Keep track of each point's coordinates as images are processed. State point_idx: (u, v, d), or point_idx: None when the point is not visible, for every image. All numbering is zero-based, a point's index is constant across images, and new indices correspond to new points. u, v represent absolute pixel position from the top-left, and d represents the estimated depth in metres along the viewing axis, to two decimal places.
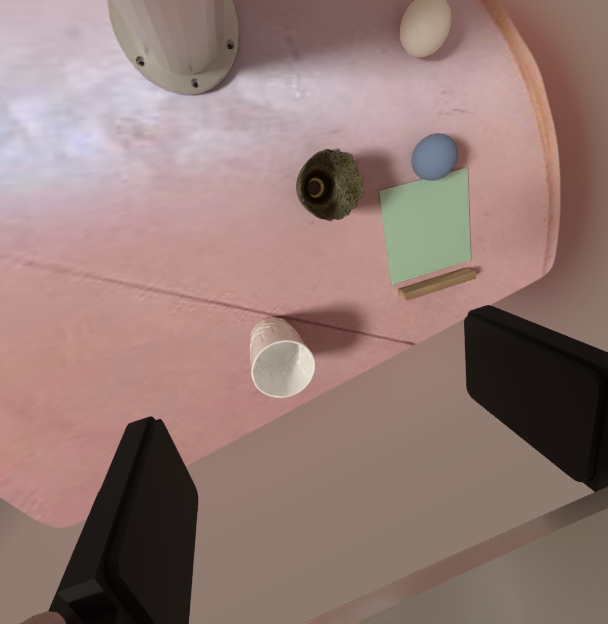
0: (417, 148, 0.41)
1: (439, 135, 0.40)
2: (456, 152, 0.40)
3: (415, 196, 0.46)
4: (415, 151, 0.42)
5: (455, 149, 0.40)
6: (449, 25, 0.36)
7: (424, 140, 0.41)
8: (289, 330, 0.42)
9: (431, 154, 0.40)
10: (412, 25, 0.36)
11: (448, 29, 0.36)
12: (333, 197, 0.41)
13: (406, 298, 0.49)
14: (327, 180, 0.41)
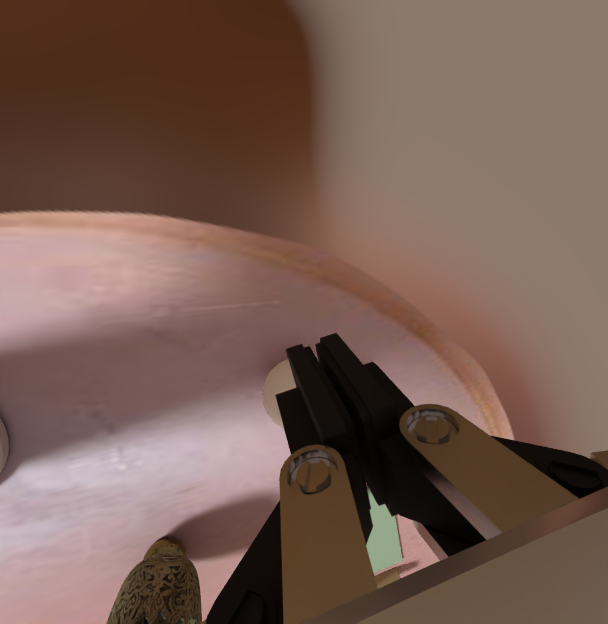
0: None
1: None
2: None
3: None
4: None
5: None
6: None
7: None
8: None
9: None
10: (271, 415, 0.24)
11: None
12: None
13: None
14: None
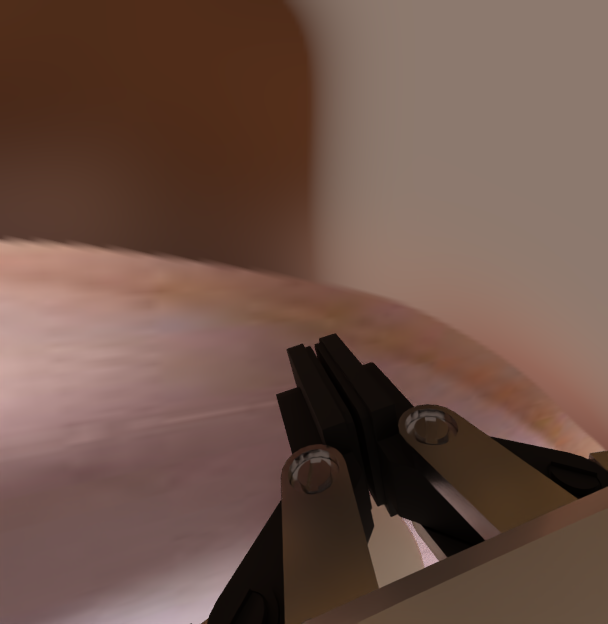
0: None
1: None
2: None
3: None
4: None
5: None
6: None
7: None
8: None
9: None
10: None
11: None
12: None
13: None
14: None
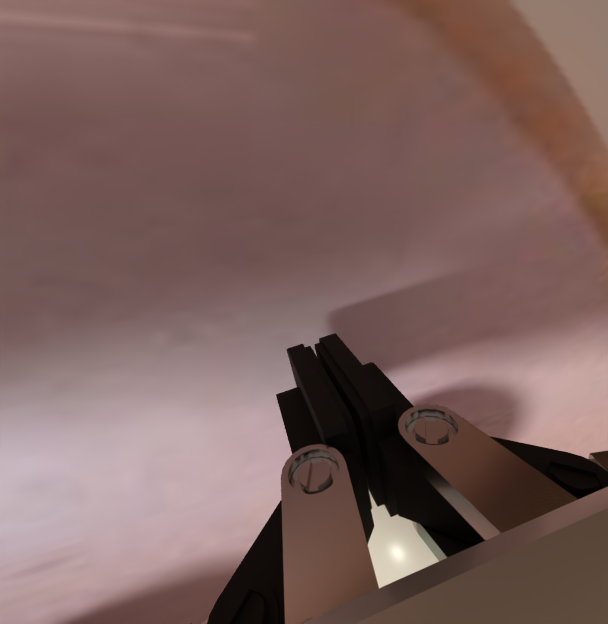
0: None
1: None
2: None
3: None
4: None
5: None
6: None
7: None
8: None
9: None
10: None
11: None
12: None
13: None
14: None
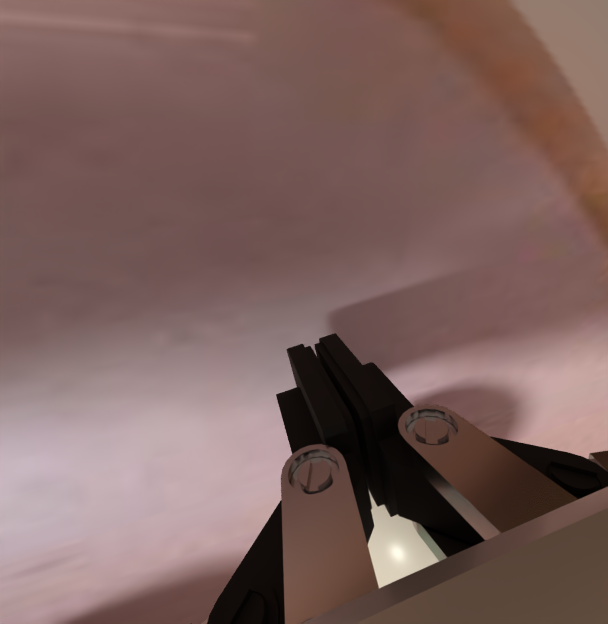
0: None
1: None
2: None
3: None
4: None
5: None
6: None
7: None
8: None
9: None
10: None
11: None
12: None
13: None
14: None
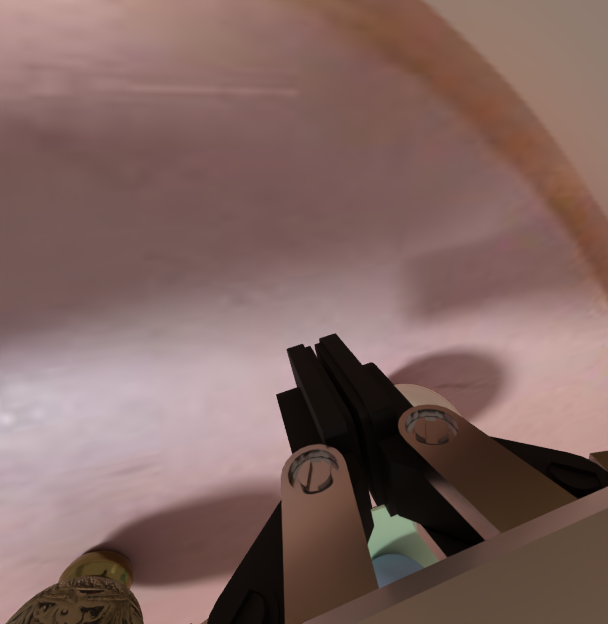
0: None
1: None
2: None
3: None
4: None
5: None
6: None
7: None
8: None
9: None
10: None
11: None
12: None
13: None
14: None
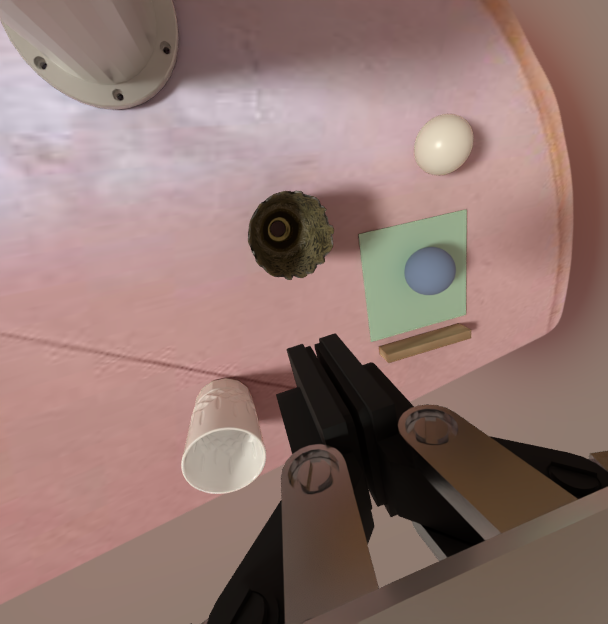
0: (414, 289, 0.37)
1: None
2: None
3: (402, 241, 0.38)
4: (414, 287, 0.37)
5: None
6: None
7: (420, 293, 0.38)
8: (238, 405, 0.34)
9: None
10: (418, 158, 0.33)
11: None
12: (300, 243, 0.33)
13: (387, 360, 0.41)
14: (293, 222, 0.33)
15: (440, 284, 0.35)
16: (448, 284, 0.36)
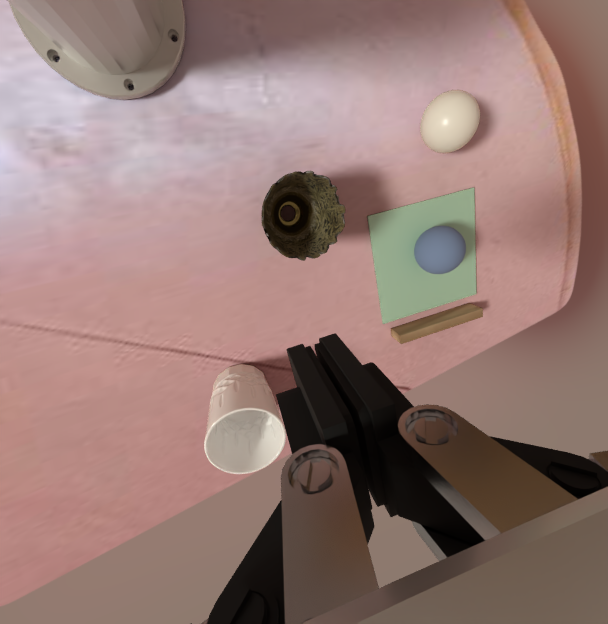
0: (425, 268, 0.38)
1: None
2: None
3: (411, 222, 0.39)
4: (424, 266, 0.37)
5: None
6: None
7: None
8: (256, 388, 0.34)
9: None
10: (425, 137, 0.33)
11: None
12: (310, 226, 0.34)
13: (400, 341, 0.41)
14: (303, 205, 0.33)
15: (451, 261, 0.36)
16: (459, 262, 0.36)
